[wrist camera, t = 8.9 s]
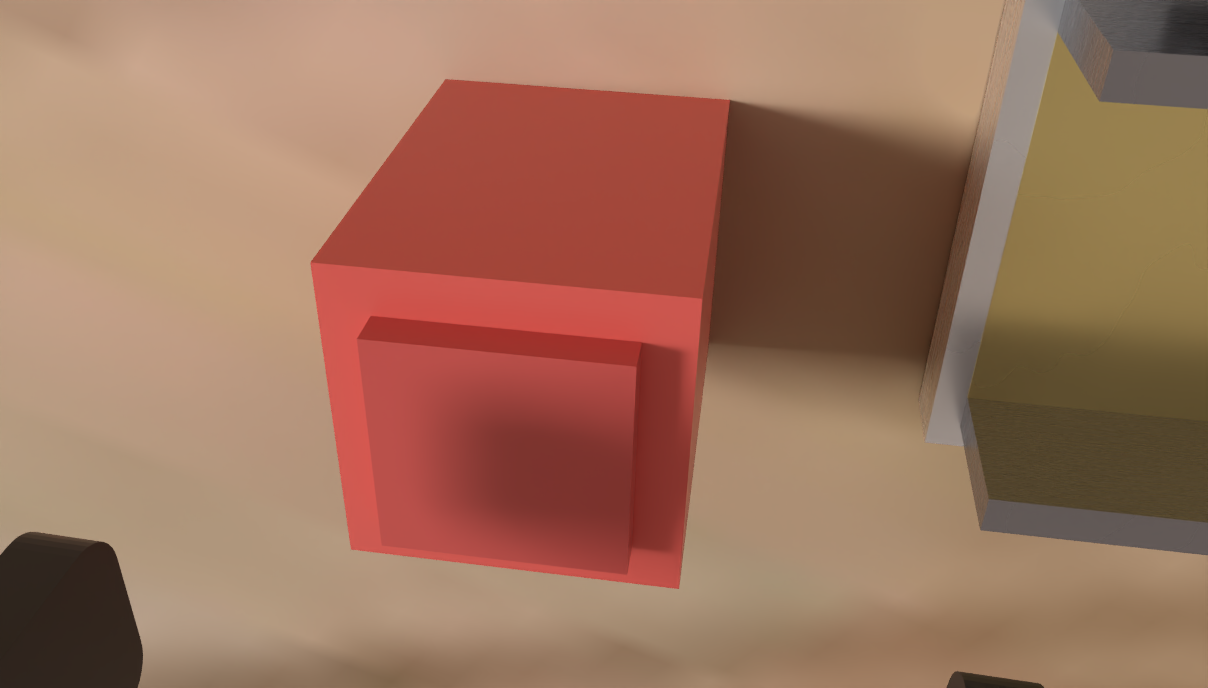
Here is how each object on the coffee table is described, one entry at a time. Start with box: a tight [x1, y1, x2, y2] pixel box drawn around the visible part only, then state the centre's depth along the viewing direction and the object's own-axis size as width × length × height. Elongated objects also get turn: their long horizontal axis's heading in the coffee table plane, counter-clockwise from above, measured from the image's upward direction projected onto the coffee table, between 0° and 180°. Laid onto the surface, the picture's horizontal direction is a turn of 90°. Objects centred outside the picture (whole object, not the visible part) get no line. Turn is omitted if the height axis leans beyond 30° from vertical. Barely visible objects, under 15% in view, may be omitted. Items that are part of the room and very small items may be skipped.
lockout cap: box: [311, 79, 730, 589], centre depth 16 cm, size 4×4×6 cm
